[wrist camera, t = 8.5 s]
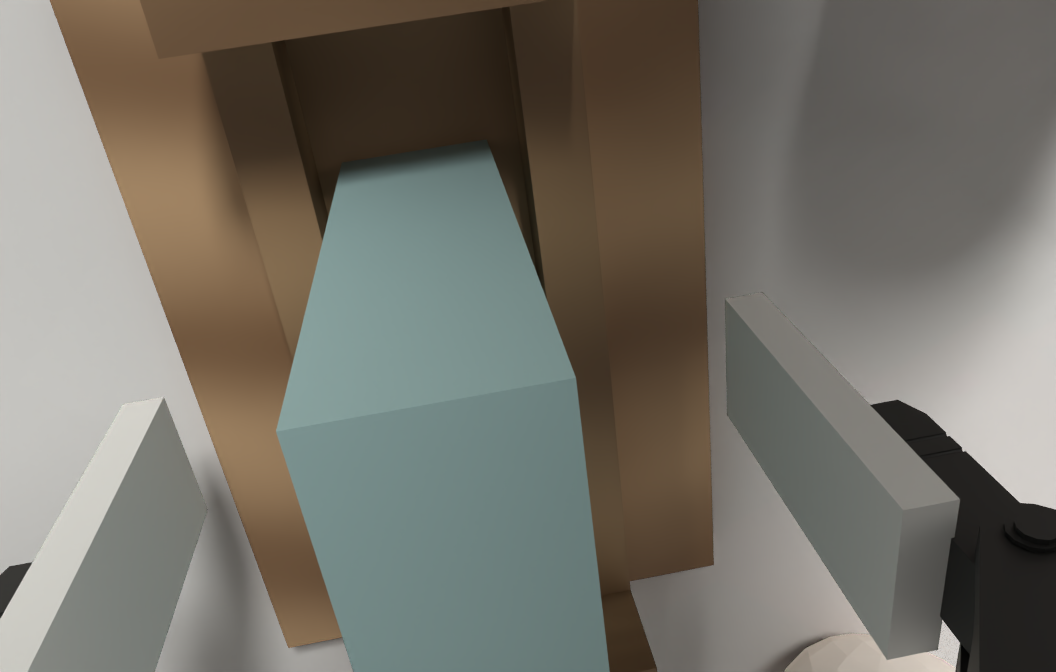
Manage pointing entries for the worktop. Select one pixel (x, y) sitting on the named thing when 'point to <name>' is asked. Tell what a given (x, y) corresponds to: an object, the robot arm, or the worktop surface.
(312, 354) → the door slab
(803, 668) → the egg
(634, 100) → the wooden holder rack
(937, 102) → the worktop surface
